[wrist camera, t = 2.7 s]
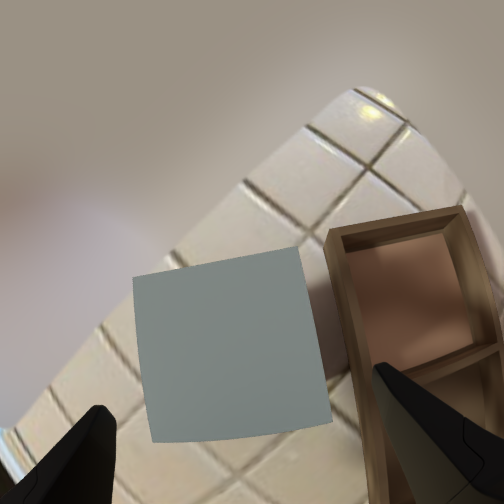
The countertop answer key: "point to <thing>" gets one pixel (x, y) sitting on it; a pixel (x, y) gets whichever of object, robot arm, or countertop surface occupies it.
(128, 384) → the countertop surface
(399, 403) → the robot arm
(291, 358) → the grey tall block
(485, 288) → the slot holder
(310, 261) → the countertop surface
